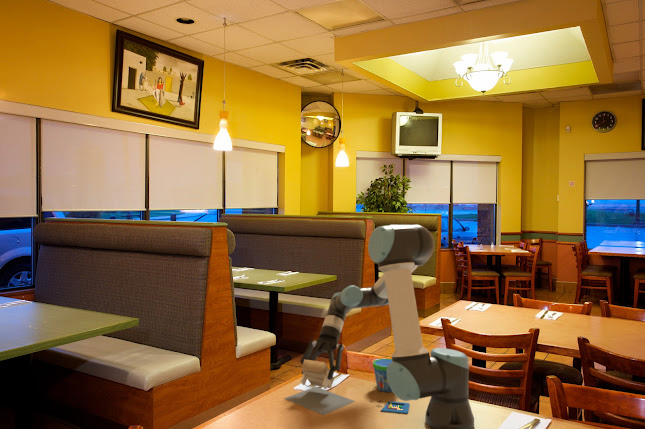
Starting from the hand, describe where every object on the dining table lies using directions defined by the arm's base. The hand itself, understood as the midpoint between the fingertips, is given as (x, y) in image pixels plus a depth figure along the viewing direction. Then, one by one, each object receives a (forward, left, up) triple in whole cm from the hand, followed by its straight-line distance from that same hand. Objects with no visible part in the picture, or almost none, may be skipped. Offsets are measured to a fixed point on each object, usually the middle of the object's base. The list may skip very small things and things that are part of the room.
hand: (313, 385), depth 181 cm
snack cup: (-13, -26, -5) cm, 30 cm away
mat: (-3, 0, -5) cm, 6 cm away
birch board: (+3, -8, -1) cm, 8 cm away
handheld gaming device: (-23, -13, -6) cm, 27 cm away
